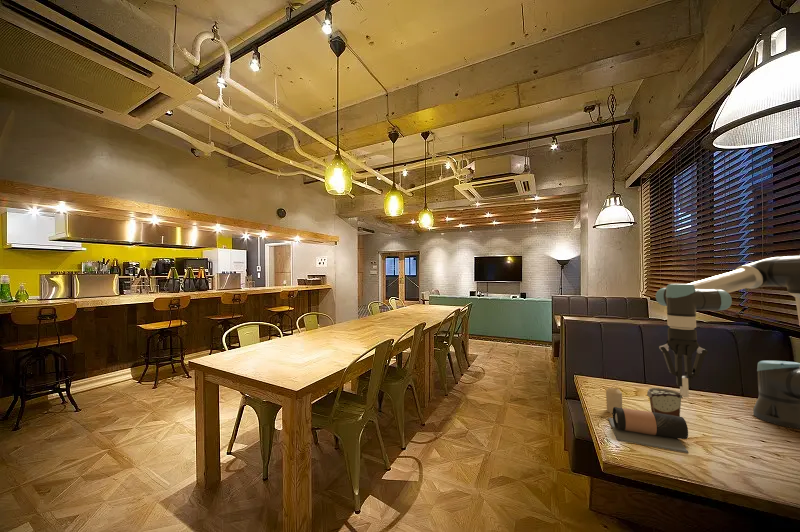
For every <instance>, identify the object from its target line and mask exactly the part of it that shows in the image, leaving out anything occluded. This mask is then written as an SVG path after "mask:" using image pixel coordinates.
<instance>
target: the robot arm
mask: <svg viewBox="0 0 800 532" xmlns="http://www.w3.org/2000/svg"><path fill="white" fill-rule="evenodd" d="M763 287H765V288H766V287H774V288H775V287H777V288H778V287H779V288H781V287H782V288H786V290H787V293H788V294H789V295H790V296H792V297H794V299H795V304H796V311H797V319H798V322H799V325H800V255H787V256H785V255H784V256H774V257H768V258H763V259H761V260H757V261H754V262H750V263H746V264H743V265H739V266H737V267H736V268H735V269H734V270H732V271H729V272H724V273H722V274H718V275H714V276H711V277H707V278H704V279H701V280H697V281H692V282H690V283H669V284H667V285H666V287H663V288H660V289H658V290H657V291H656V293H655V300H656V302H657V303H658V305H660V306H663V307H666V314H667V317H666V319H667V322H666V323H667V326H668V328H667V340H666V343H665V344H663V345H658V349H659V350H660V351H661V352H662V355H663V358H664V361H665V363H666V367H667V369H668V372H669V374H671V375H673V376H675V383H676V385H677V386H678V387H679V393H680V395H682V397H683V398H688V399H689V398H690V395H689V394H690V392H689V390H690V389H689V388H692V386H693V384H692V383H693V380H692V379H694V378H698V377H699V376H700V373H701V369H702V367H703V363H704V360H705V357H706V355H707V354H708V353H709V351H708V350H707V349H705V348H703V347H701V346H700V344H699V343H698V335H697V334H698V333H697V330H696V329H695V328H697V312H698V311H706V312H707V311H708V312H709V311H710V312H712V311H713V312H714V311H715V312H718V311H726V310H727V309H730V307H731V306H732V303H733V300H732V296H731V295H730V293H734V292H736V291H741V290H743V289H751V290H752V289H758V288H763ZM670 350H671V351H672V352H673V355H674V363H673V361H672V358H671V355H670V353H669V351H670ZM695 352H696V355H695V358H694V362H693V364H692V359H693V354H694V353H695ZM683 362H684V363H683ZM683 364H684V375H683ZM756 373H757V374H756V375H757V387H758V398H757V400H756V401H755V404H754V406H753V408H752V409H753V411H752V413H753V416H755V417H756V418H758V419H759V420H762V421H764V422H767V423H771V424H774V425H777V426H782V427H786V428H792V429H796V430H797V429H798V430H800V362H795V361H789V360H788V361H786V360H759V361H758V362H757V369H756Z"/></svg>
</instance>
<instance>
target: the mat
mask: <svg viewBox="0 0 800 532" xmlns="http://www.w3.org/2000/svg"><path fill="white" fill-rule="evenodd" d="M607 418H608V421H609V423H610V427H611V428H612V431H613V433H614V436H615V438H616V440H617V441H619V442H625V443H629V444H635V443H636V445H640V444H641V446H646V445H647V446H646V447H651V446H652V448H656V447H658V448H657V449H662V448H664V450H667V449H669V451H673V452H678V453H679V452H680V453H684V454H689V451H688V449H687V448H686V446H684V444H683V443H682V442H681V440H680V439H678V438H671V437H663V436H656V435H650V434H644V433H638V432H632V431H626V430H620V429H616V428H615V426H614V422H613V417H607Z"/></svg>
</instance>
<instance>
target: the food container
mask: <svg viewBox="0 0 800 532" xmlns="http://www.w3.org/2000/svg"><path fill="white" fill-rule="evenodd" d="M646 395H647V397H648V399H649V403H650V410H651V411H650V412H655V413H661V414H668V415H674V416H680V417H681V404H682V399H684V397H683V396H682V395H680V391H676V390H672V389H667V388H662V387H661V388H660V387H651V388H648V390H647V392H646Z"/></svg>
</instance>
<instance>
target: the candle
mask: <svg viewBox="0 0 800 532" xmlns="http://www.w3.org/2000/svg"><path fill="white" fill-rule="evenodd" d="M605 398H606V401H605V402H606V411H607V412H608V413H611V414H612V415H613V408H614V407H618V408H623V392H622V391H621V390H620V388H619V387H610V386H609V387H608V388H607V389H606V390H605Z"/></svg>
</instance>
